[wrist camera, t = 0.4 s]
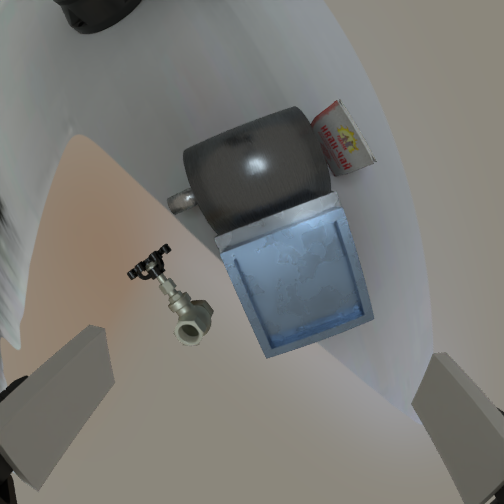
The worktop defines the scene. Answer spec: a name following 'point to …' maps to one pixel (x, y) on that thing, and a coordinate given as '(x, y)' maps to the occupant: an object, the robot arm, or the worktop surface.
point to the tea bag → (341, 140)
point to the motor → (278, 230)
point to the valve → (177, 300)
